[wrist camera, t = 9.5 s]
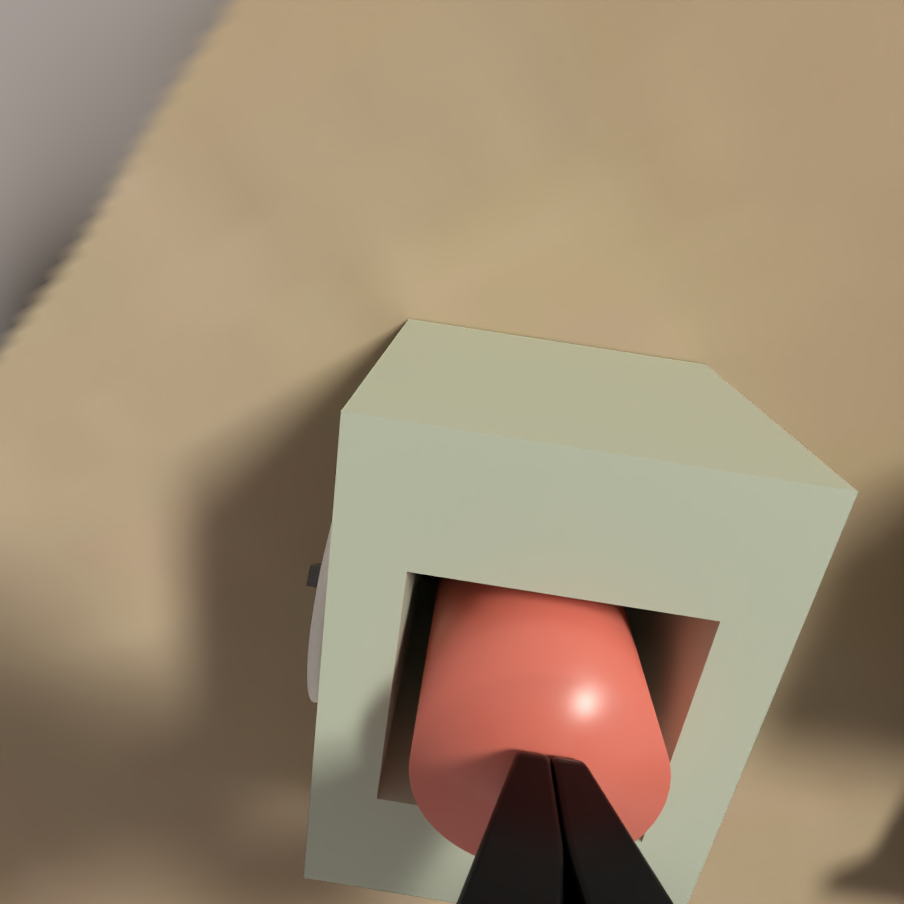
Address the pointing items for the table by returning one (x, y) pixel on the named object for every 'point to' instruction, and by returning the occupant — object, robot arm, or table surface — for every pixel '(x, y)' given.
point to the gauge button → (531, 705)
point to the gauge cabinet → (554, 569)
